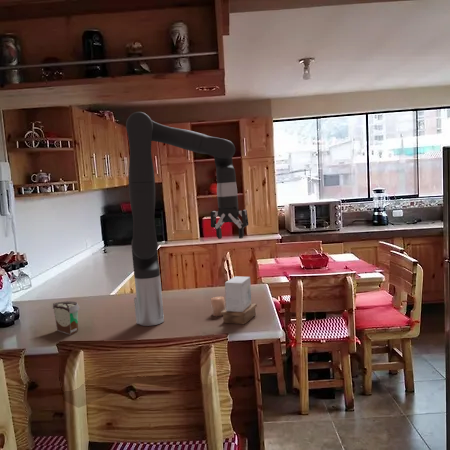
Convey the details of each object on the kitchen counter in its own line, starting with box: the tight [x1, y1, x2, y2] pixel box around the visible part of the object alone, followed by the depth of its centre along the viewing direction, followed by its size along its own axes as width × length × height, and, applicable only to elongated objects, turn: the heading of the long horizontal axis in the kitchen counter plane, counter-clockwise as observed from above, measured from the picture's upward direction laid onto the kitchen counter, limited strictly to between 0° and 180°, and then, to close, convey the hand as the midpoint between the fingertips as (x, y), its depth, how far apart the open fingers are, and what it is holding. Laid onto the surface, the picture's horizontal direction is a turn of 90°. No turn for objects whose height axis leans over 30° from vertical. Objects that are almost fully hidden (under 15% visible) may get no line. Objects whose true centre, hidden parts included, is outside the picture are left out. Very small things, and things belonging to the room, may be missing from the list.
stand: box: [221, 303, 258, 325], centre depth 175 cm, size 9×12×4 cm
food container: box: [52, 300, 80, 336], centre depth 175 cm, size 12×6×10 cm, turn 48°
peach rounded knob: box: [210, 295, 226, 317], centre depth 182 cm, size 5×5×6 cm
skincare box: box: [224, 275, 252, 312], centre depth 174 cm, size 10×6×10 cm, turn 159°
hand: (230, 238), depth 181 cm, fingers open, 8 cm apart
